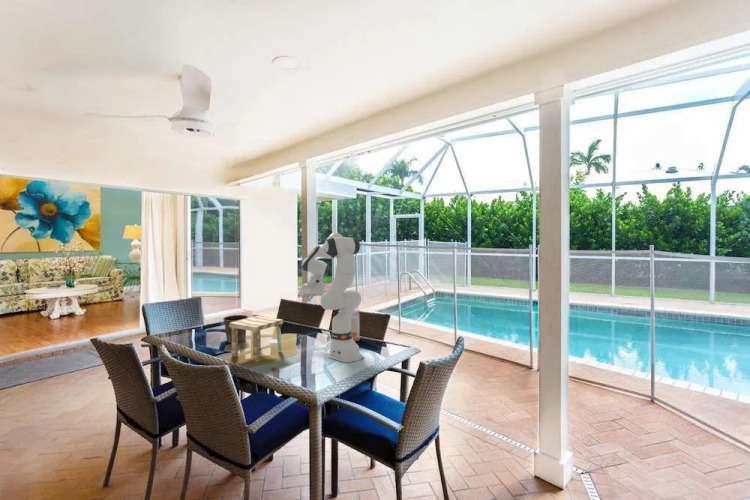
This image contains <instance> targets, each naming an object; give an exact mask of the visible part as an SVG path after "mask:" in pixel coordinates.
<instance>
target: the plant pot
mask: <svg viewBox="0 0 750 500" xmlns="http://www.w3.org/2000/svg"><path fill="white" fill-rule="evenodd" d="M247 318H249V316H248V315H246V314H235V315H228V316H225V317H223V318H222V320H223V325H224V329H225V334H226V342H227V343H230V344H232V328H231V327H229V323H231V322H235V321H239V320H243V319H247ZM246 334H247V330H243V329H238V343H242V342H244V341H246V340H247V339H246V336H247V335H246Z"/></svg>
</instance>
